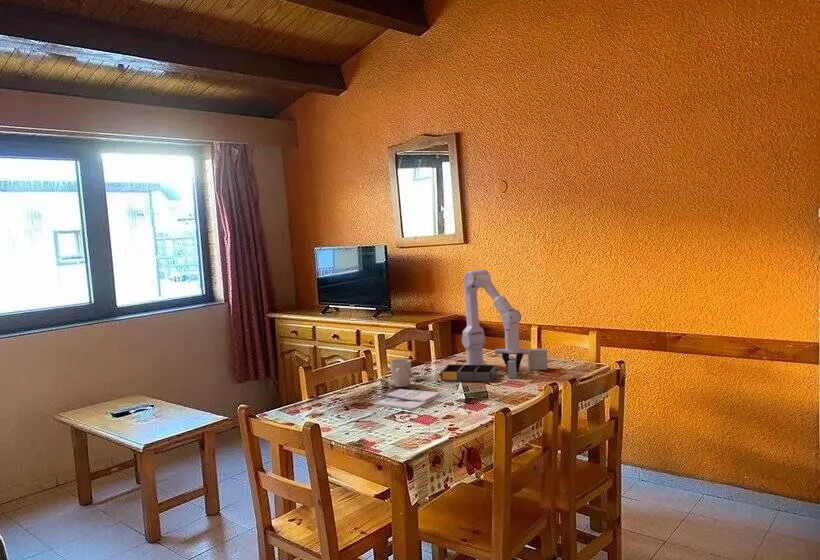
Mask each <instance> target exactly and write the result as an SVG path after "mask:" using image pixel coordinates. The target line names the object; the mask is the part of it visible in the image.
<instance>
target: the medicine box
mask: <svg viewBox="0 0 820 560" xmlns="http://www.w3.org/2000/svg"><path fill="white" fill-rule="evenodd" d="M529 349H530V355H527V361H528V362H527V366H528V367H527V368H528V369H529V370H528V371H547V370H549V369H548V351H547V348H529Z"/></svg>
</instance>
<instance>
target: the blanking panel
mask: <svg viewBox="0 0 820 560" xmlns="http://www.w3.org/2000/svg"><path fill="white" fill-rule="evenodd" d="M519 374H520V371H519V372H517V360H516V356H509V360H508V371H507V377H508V379H511V380H512V379H514V380H515V379H518V378H517V377H518V375H519Z"/></svg>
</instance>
